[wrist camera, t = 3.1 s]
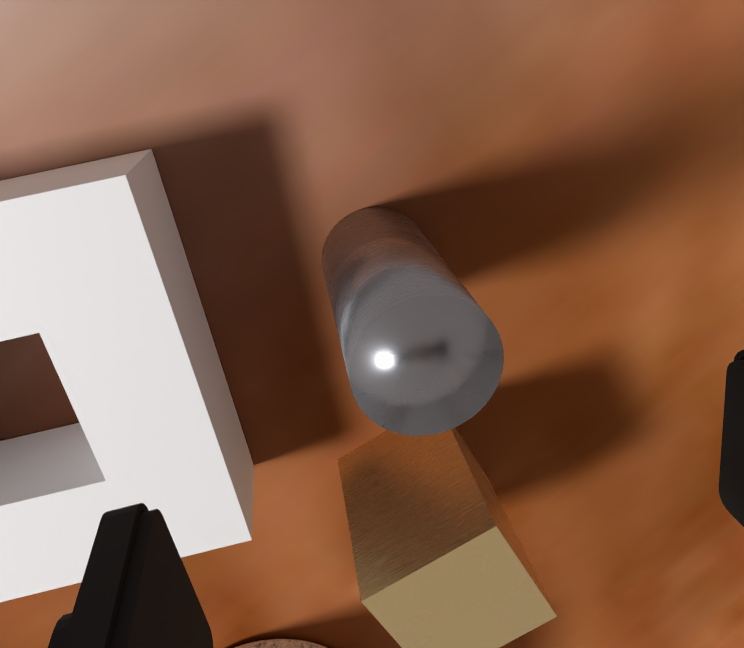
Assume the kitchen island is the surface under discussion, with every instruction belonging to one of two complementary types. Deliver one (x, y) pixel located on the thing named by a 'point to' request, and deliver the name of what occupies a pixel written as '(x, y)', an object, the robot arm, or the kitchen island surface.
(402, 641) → the square bit
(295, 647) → the teacup with lid
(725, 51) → the kitchen island surface
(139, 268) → the block
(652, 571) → the kitchen island surface
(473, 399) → the round bit
